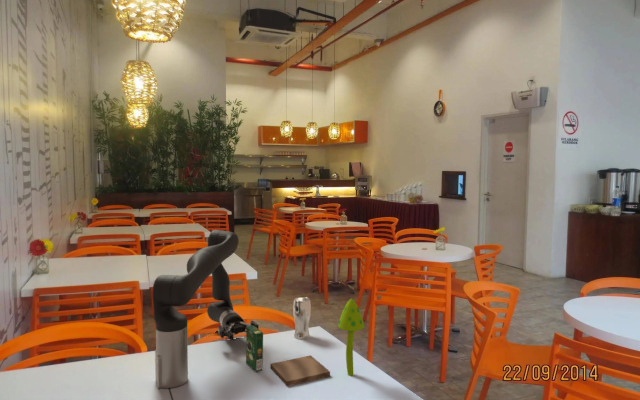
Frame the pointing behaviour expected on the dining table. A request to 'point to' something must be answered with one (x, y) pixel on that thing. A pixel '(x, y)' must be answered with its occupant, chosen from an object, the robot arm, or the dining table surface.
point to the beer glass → (301, 317)
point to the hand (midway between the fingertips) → (244, 335)
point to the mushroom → (350, 329)
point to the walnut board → (299, 370)
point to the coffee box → (254, 348)
